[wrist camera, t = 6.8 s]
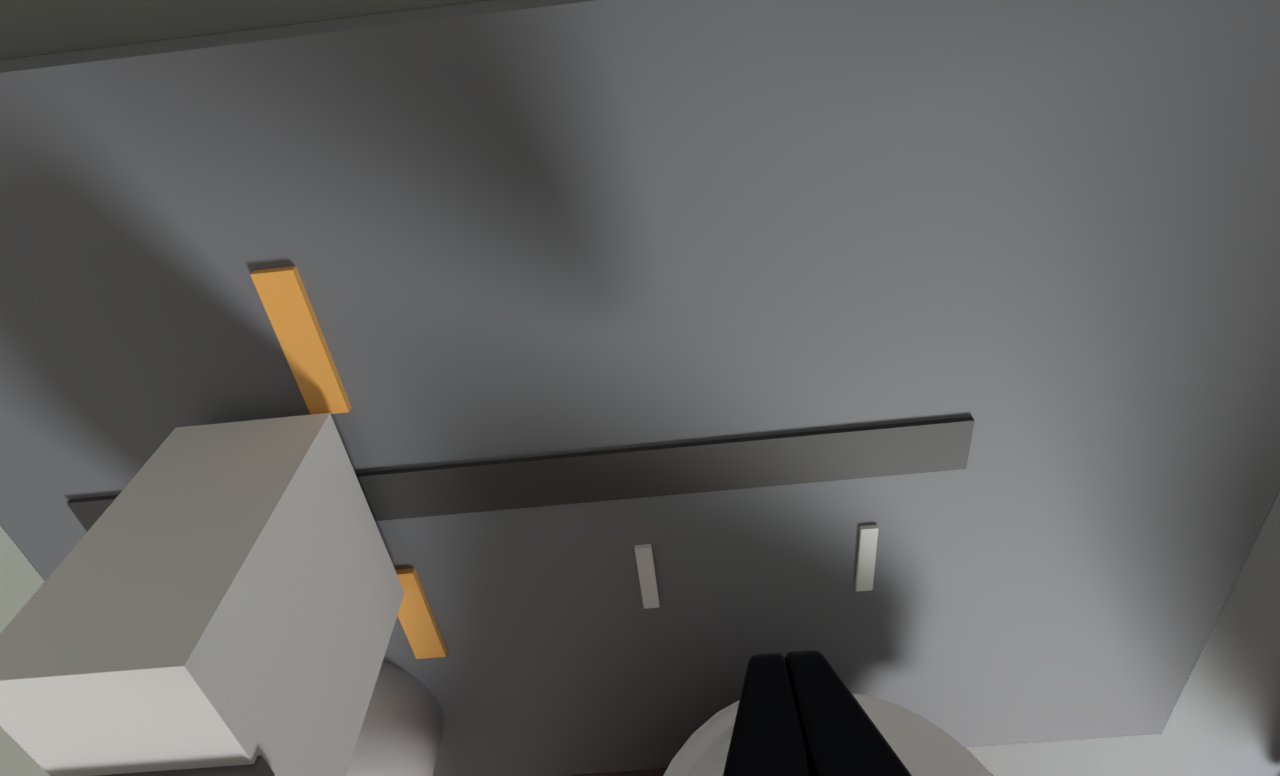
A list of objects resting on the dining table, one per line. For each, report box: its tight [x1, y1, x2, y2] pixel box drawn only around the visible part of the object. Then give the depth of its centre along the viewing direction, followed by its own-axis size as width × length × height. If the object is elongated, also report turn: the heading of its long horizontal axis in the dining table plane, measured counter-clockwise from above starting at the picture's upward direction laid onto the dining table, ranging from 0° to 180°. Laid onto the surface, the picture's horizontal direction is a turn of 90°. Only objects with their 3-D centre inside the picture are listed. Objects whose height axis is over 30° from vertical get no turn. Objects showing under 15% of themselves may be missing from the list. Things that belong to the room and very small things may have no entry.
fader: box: [0, 413, 405, 776], centre depth 10 cm, size 2×4×5 cm, turn 6°
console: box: [0, 0, 1280, 776], centre depth 13 cm, size 22×16×4 cm
